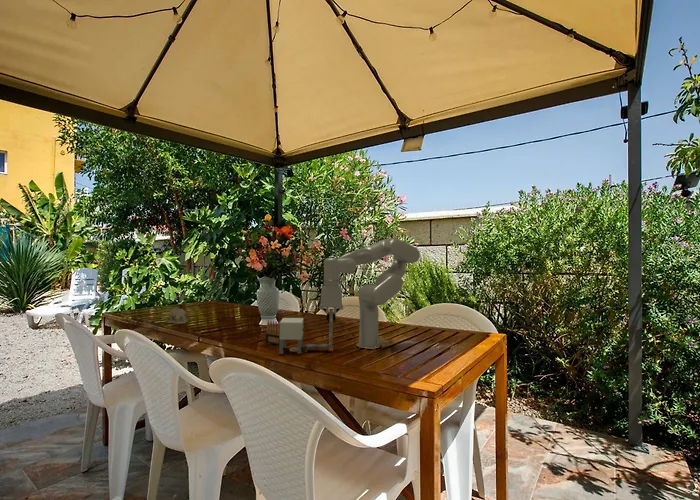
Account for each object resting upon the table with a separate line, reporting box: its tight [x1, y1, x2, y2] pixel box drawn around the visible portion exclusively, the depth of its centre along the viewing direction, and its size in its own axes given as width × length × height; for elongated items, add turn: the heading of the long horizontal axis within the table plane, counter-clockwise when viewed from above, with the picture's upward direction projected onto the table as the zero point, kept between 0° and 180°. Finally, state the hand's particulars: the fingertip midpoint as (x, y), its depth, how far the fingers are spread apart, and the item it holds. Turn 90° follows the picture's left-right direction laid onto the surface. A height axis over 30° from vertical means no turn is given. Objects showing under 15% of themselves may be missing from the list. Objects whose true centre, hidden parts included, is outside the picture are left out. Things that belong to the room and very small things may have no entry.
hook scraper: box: [304, 308, 334, 352], centre depth 181 cm, size 13×5×20 cm, turn 94°
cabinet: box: [278, 317, 305, 355], centre depth 181 cm, size 11×13×15 cm
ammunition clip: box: [265, 320, 280, 346], centre depth 194 cm, size 11×2×12 cm, turn 59°
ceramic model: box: [165, 307, 189, 325], centre depth 251 cm, size 14×11×10 cm
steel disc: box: [289, 347, 298, 351], centre depth 180 cm, size 5×5×2 cm
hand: (330, 321), depth 182 cm, fingers closed on hook scraper, 1 cm apart
